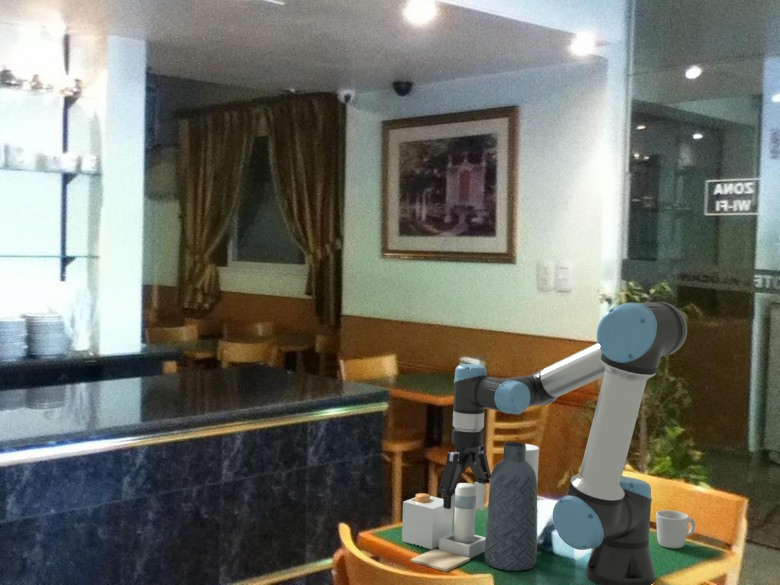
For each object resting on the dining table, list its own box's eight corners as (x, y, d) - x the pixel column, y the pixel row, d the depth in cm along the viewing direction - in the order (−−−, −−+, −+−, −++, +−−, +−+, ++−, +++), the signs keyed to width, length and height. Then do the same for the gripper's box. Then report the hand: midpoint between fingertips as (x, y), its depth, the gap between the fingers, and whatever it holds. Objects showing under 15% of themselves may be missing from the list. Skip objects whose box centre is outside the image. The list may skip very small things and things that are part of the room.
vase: (521, 576, 215) (526, 452, 213) (474, 564, 222) (479, 444, 220) (545, 562, 225) (550, 444, 223) (499, 550, 232) (504, 436, 230)
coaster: (469, 560, 224) (470, 558, 224) (446, 571, 216) (446, 569, 216) (434, 551, 230) (434, 548, 230) (410, 561, 222) (410, 559, 222)
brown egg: (431, 518, 239) (432, 495, 238) (423, 522, 236) (424, 498, 235) (420, 515, 241) (421, 492, 240) (411, 519, 238) (412, 495, 237)
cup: (683, 538, 246) (684, 508, 245) (703, 548, 238) (705, 517, 238) (648, 542, 242) (649, 511, 242) (667, 552, 235) (668, 520, 234)
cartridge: (477, 550, 232) (480, 485, 231) (466, 555, 228) (469, 489, 226) (460, 545, 235) (462, 481, 234) (448, 550, 231) (451, 485, 230)
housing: (488, 549, 232) (489, 509, 232) (468, 559, 225) (469, 517, 224) (422, 532, 244) (423, 494, 243) (401, 541, 237) (403, 501, 236)
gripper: (481, 419, 241) (477, 501, 243) (425, 433, 221) (421, 523, 223) (507, 423, 237) (503, 507, 238) (452, 439, 217) (448, 530, 218)
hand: (463, 515), depth 231 cm, fingers open, 13 cm apart
